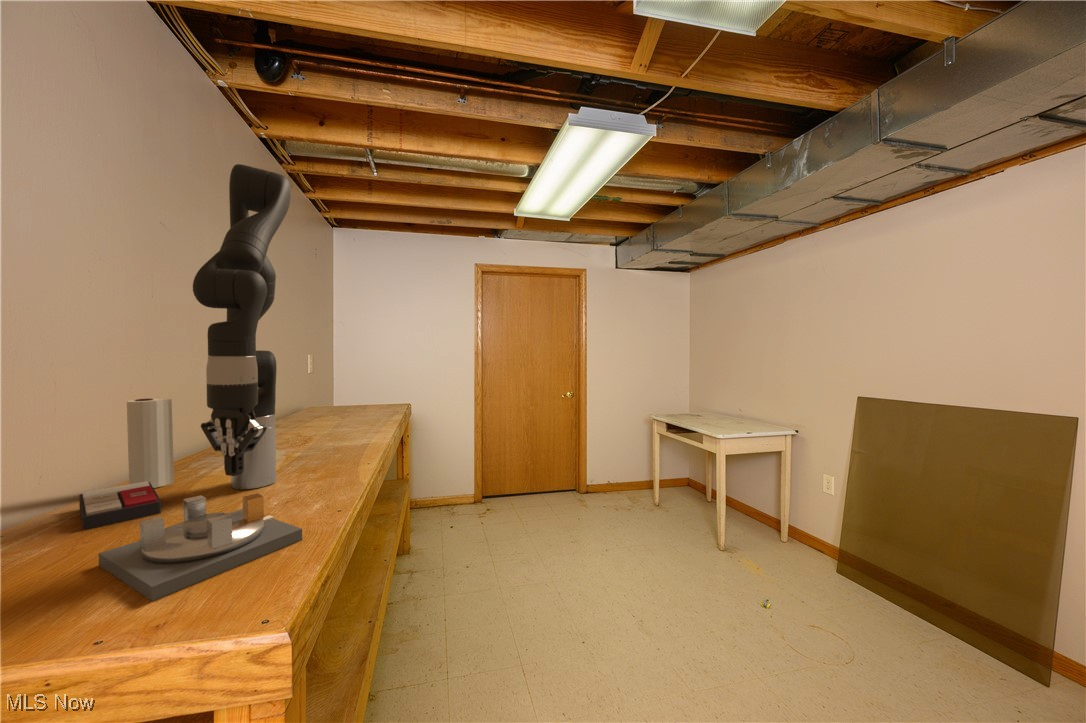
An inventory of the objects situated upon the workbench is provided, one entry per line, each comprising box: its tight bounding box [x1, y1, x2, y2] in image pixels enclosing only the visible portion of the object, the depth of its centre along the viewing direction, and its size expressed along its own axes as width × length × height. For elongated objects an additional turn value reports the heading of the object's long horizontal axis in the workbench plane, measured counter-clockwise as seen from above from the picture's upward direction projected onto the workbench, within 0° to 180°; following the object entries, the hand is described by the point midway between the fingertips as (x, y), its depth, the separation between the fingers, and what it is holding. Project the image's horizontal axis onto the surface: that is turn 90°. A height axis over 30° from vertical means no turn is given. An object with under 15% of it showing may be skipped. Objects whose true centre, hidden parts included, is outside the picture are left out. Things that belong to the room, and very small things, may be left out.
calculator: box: [78, 482, 162, 531], centre depth 88 cm, size 11×4×15 cm
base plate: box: [98, 508, 303, 602], centre depth 72 cm, size 19×21×2 cm
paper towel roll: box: [126, 398, 175, 489], centre depth 102 cm, size 7×6×21 cm
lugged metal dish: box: [139, 492, 265, 563], centre depth 71 cm, size 16×16×5 cm
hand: (234, 474), depth 78 cm, fingers closed
